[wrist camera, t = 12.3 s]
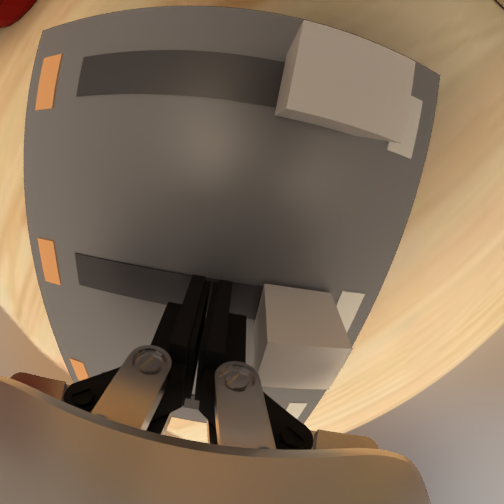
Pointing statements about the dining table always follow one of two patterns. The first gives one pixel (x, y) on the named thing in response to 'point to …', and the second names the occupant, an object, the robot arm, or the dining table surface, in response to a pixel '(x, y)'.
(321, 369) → the switch
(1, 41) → the dining table surface
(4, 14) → the plastic cup
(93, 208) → the switch panel
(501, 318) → the dining table surface
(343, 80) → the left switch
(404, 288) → the dining table surface
